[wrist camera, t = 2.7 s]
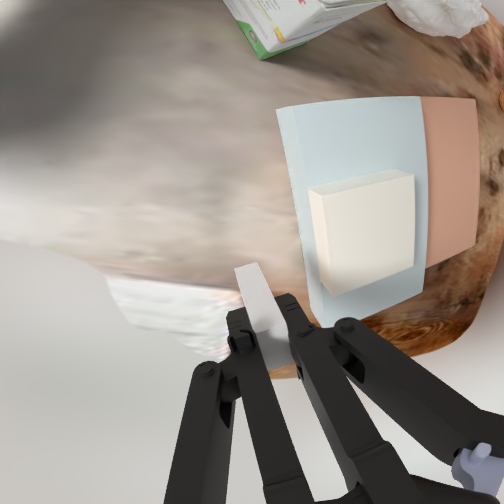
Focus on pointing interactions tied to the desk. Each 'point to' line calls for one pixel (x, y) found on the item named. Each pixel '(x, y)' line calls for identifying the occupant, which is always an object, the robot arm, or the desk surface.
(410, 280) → the plate
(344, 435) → the robot arm
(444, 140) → the mat
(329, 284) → the coaster
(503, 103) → the figurine
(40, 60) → the desk surface
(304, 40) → the ink box
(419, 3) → the white tied bag
